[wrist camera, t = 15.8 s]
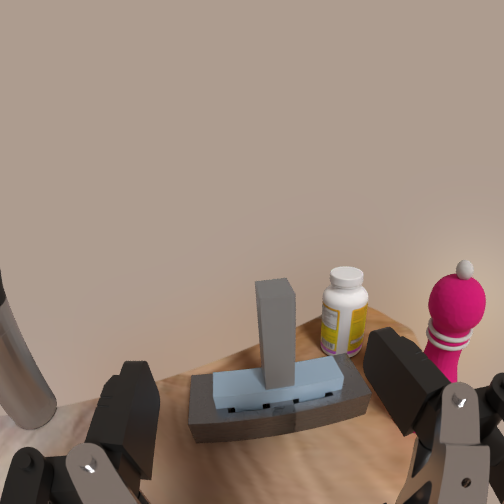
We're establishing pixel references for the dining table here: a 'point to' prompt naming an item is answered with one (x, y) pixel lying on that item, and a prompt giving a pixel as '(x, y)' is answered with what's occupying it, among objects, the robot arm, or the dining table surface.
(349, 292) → the supplement bottle
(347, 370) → the dark grey rectangular block
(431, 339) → the pepper mill
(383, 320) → the dining table surface
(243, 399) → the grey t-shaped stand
